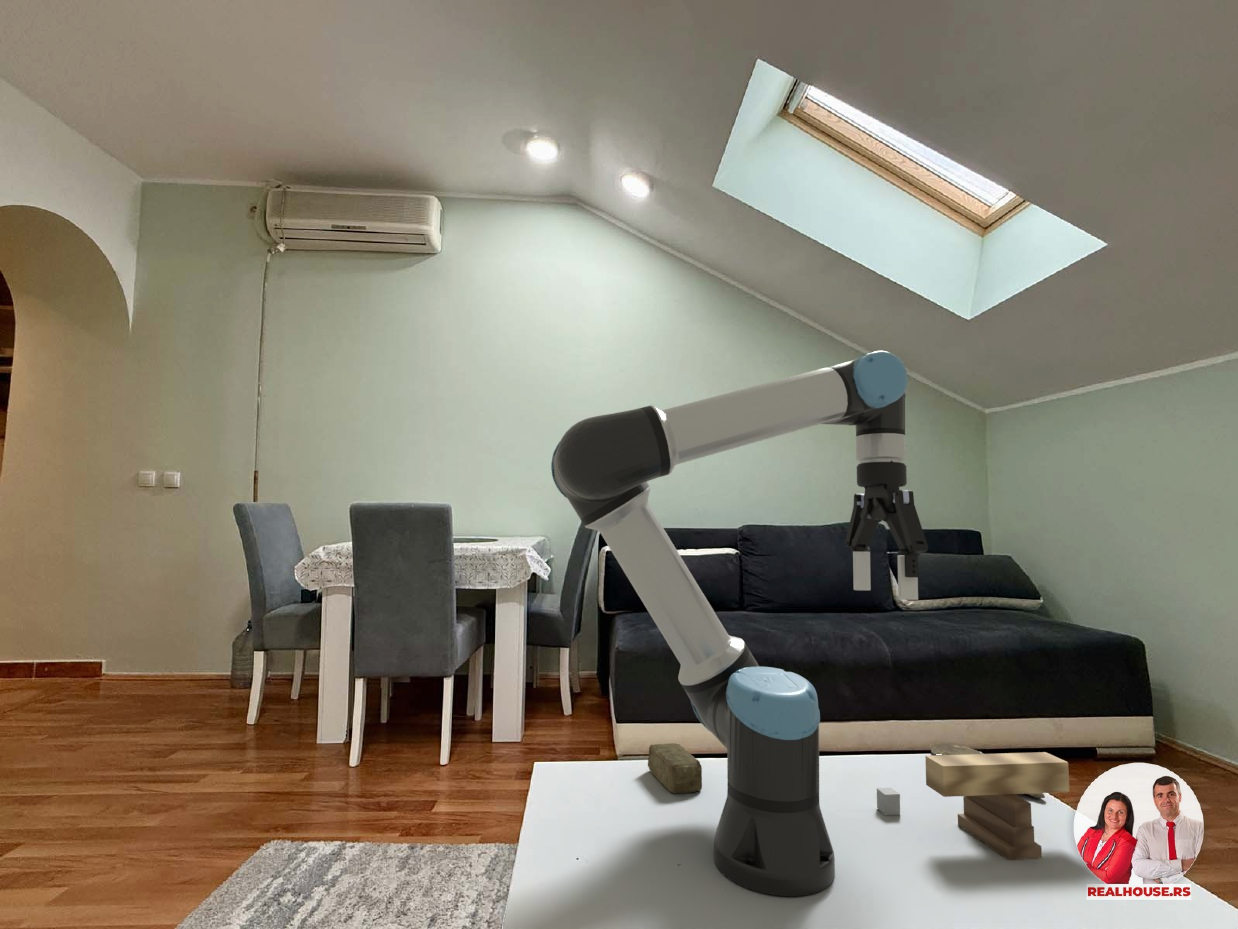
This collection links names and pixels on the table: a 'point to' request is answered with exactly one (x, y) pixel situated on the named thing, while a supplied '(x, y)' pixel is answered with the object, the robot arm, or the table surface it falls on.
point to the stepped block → (1001, 824)
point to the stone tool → (960, 749)
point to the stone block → (675, 768)
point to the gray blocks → (888, 801)
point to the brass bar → (996, 774)
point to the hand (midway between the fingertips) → (883, 594)
